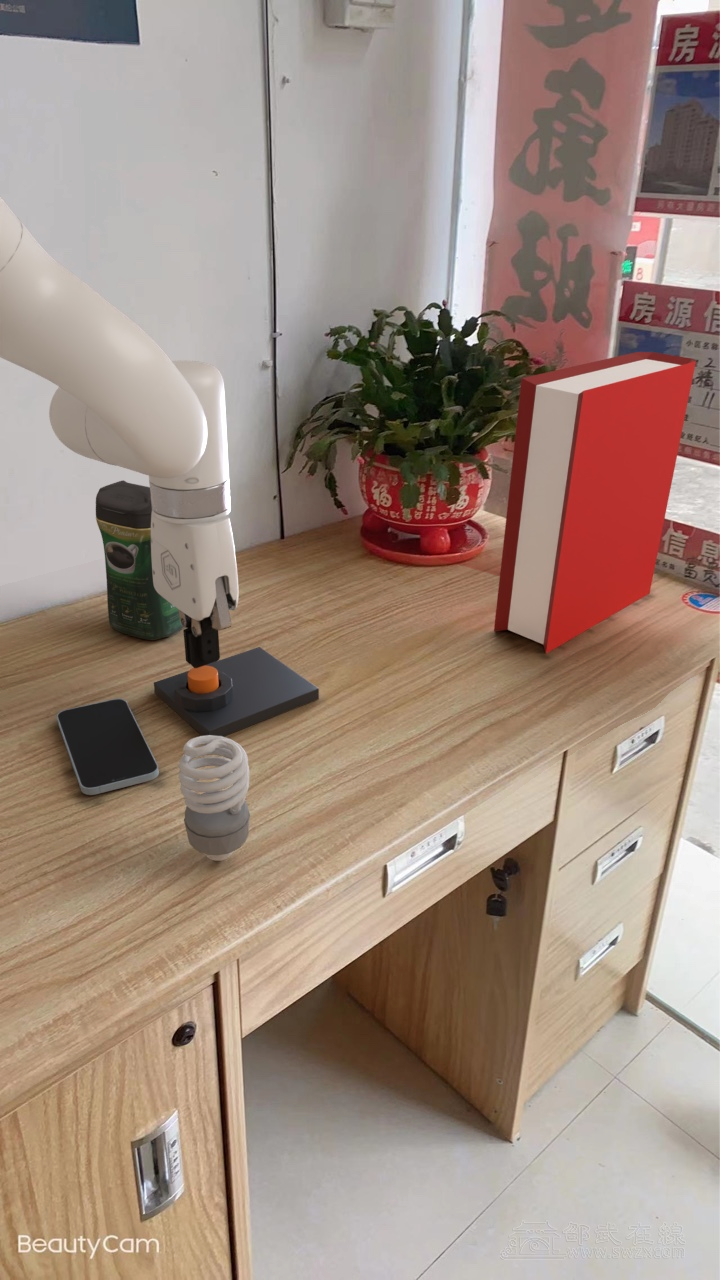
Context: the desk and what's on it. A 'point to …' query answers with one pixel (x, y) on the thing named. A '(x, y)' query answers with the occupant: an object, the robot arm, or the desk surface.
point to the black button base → (238, 693)
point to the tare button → (203, 679)
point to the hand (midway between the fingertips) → (203, 661)
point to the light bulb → (215, 796)
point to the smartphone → (106, 746)
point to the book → (589, 491)
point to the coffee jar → (132, 563)
